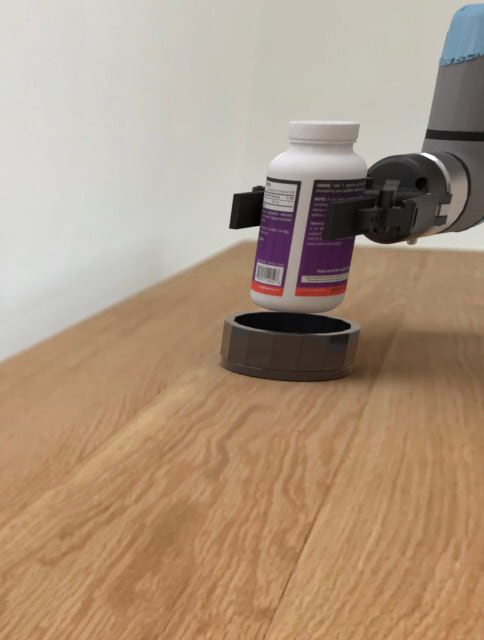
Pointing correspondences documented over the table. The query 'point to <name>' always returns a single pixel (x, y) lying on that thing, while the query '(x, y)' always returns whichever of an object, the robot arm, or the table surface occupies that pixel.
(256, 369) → the ring
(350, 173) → the pill bottle
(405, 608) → the table surface
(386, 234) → the robot arm
